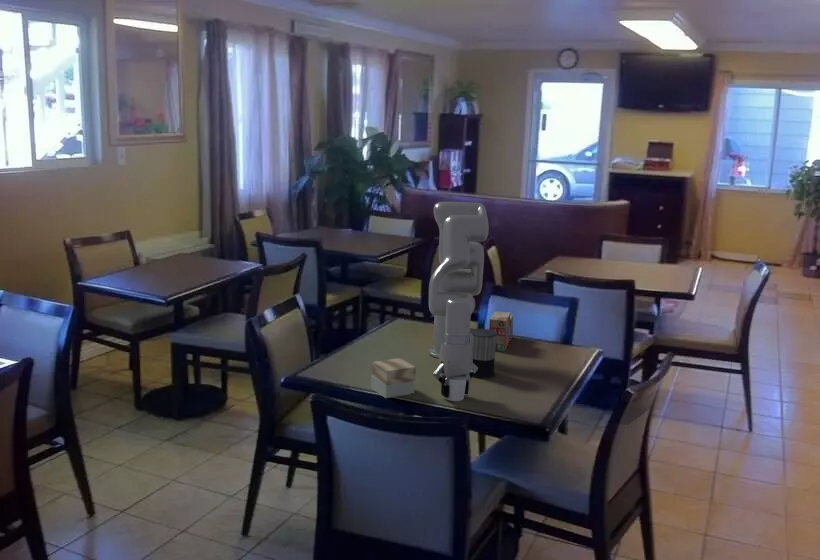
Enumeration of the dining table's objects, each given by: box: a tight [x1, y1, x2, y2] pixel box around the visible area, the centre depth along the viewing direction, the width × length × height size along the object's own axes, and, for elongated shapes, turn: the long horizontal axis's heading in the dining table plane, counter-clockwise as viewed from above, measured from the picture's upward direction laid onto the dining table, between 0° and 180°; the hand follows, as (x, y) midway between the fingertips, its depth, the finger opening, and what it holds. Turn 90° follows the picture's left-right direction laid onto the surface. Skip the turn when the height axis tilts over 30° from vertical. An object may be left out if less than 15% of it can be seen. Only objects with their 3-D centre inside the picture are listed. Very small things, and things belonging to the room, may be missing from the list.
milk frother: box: [469, 328, 497, 379], centre depth 265 cm, size 14×16×15 cm
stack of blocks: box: [488, 311, 514, 352], centre depth 303 cm, size 21×6×12 cm, turn 165°
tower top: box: [371, 357, 417, 385], centre depth 247 cm, size 10×10×4 cm
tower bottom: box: [370, 374, 415, 399], centre depth 248 cm, size 10×10×4 cm
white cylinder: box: [445, 375, 467, 402], centre depth 243 cm, size 7×7×7 cm
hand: (454, 394), depth 243 cm, fingers closed on white cylinder, 6 cm apart
